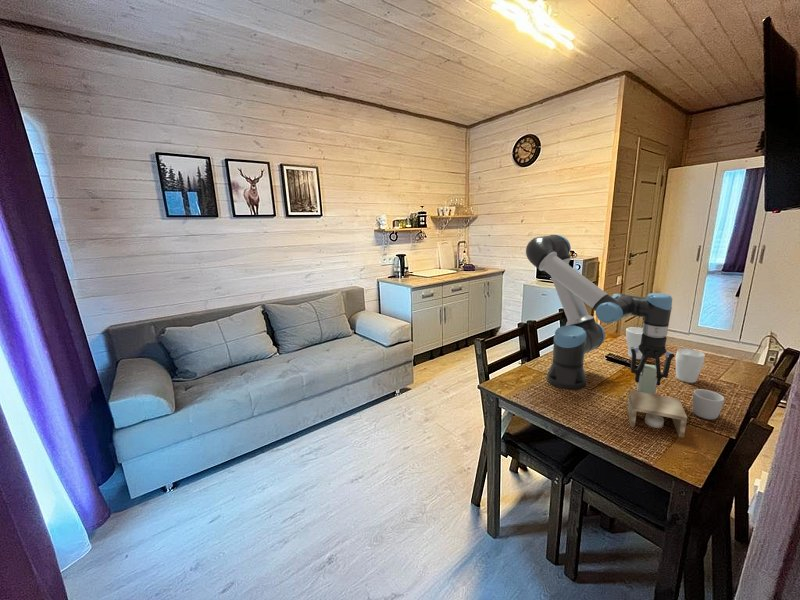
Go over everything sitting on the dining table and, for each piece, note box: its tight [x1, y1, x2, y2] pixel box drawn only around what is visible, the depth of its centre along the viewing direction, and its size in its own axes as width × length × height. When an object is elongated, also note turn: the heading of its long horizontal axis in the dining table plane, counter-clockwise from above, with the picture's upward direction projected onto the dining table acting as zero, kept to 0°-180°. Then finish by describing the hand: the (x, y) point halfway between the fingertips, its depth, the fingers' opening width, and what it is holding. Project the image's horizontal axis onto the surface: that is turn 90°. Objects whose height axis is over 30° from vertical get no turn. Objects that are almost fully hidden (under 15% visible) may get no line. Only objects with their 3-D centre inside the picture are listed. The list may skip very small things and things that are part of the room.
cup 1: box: [625, 326, 643, 360], centre depth 162 cm, size 10×10×14 cm
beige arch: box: [626, 389, 688, 438], centre depth 114 cm, size 14×12×7 cm
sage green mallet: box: [638, 363, 657, 414], centre depth 123 cm, size 4×21×11 cm, turn 152°
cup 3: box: [692, 388, 725, 421], centre depth 117 cm, size 11×8×8 cm
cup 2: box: [675, 348, 706, 384], centre depth 140 cm, size 9×9×12 cm
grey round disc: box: [644, 413, 665, 429], centre depth 113 cm, size 5×5×2 cm
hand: (645, 390), depth 131 cm, fingers closed on sage green mallet, 4 cm apart
